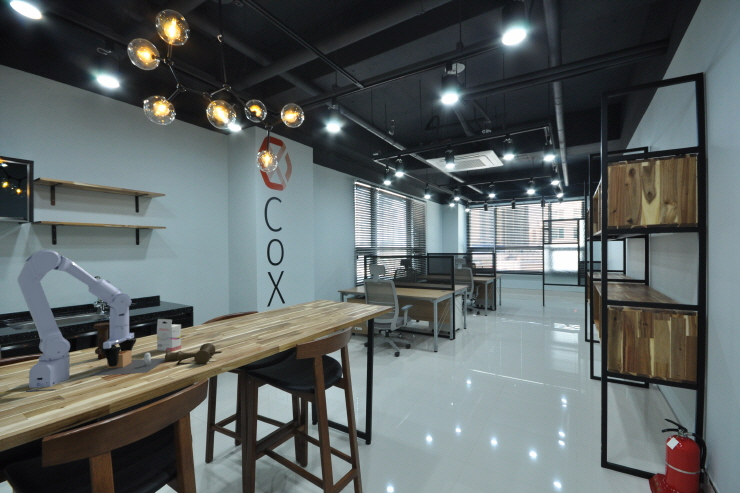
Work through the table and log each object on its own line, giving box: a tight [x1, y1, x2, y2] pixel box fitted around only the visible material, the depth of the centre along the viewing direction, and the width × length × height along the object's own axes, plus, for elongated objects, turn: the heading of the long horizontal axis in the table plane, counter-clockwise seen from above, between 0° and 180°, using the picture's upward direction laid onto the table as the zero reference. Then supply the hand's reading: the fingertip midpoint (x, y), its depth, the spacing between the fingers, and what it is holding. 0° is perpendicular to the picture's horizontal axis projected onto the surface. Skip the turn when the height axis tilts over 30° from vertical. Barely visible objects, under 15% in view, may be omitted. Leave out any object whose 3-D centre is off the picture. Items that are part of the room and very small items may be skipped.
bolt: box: [93, 321, 110, 360], centre depth 129 cm, size 6×5×15 cm
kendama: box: [164, 342, 223, 365], centre depth 127 cm, size 6×10×20 cm
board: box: [89, 352, 165, 377], centre depth 118 cm, size 16×18×6 cm
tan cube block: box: [106, 350, 132, 368], centre depth 120 cm, size 5×5×4 cm
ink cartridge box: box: [156, 318, 182, 352], centre depth 140 cm, size 9×5×15 cm, turn 73°
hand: (119, 362), depth 120 cm, fingers open, 7 cm apart
